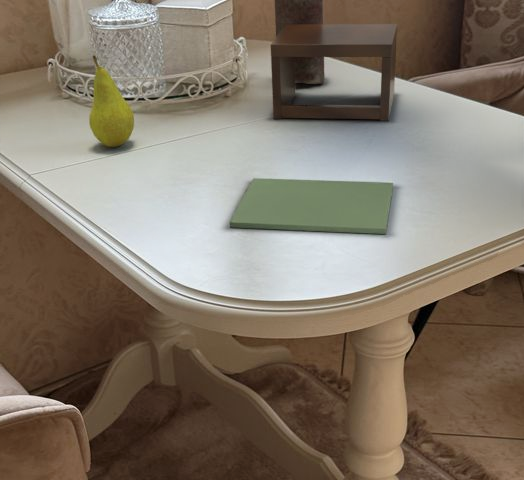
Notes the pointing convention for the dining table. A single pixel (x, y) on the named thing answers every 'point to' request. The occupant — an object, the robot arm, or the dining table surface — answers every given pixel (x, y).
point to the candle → (302, 12)
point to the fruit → (109, 111)
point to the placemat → (315, 206)
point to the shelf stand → (331, 45)
